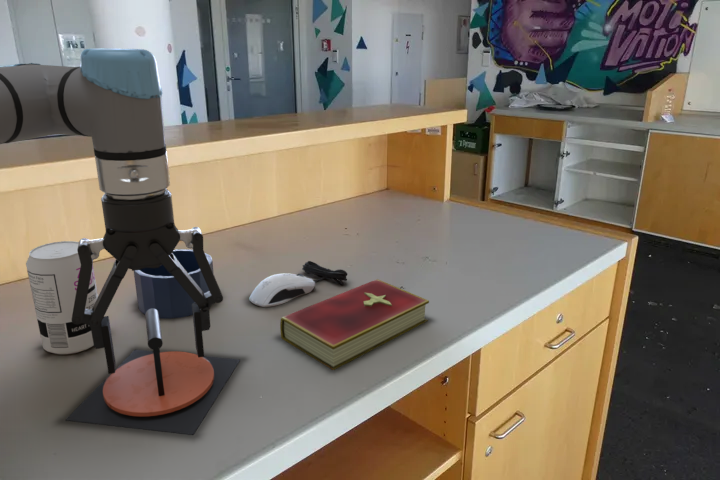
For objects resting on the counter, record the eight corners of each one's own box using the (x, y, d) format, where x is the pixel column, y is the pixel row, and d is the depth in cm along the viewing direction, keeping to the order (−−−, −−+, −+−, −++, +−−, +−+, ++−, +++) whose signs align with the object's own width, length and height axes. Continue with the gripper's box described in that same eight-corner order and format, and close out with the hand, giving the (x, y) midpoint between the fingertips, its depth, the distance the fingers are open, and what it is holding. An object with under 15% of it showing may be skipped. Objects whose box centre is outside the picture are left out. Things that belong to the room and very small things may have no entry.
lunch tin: (139, 325, 88) (134, 282, 85) (137, 293, 99) (132, 254, 96) (220, 312, 92) (216, 271, 90) (209, 283, 103) (206, 245, 101)
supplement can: (45, 335, 84) (27, 243, 79) (104, 325, 87) (90, 237, 82) (40, 362, 77) (19, 263, 72) (104, 351, 80) (89, 255, 75)
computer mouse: (237, 297, 98) (236, 277, 96) (314, 269, 110) (314, 251, 109) (272, 317, 91) (271, 295, 90) (349, 285, 104) (350, 265, 102)
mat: (65, 422, 66) (65, 419, 65) (135, 351, 80) (134, 349, 80) (193, 437, 64) (193, 434, 63) (240, 361, 78) (240, 359, 78)
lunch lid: (102, 432, 64) (90, 360, 60) (105, 369, 75) (95, 307, 72) (221, 406, 68) (216, 338, 65) (207, 351, 80) (202, 292, 77)
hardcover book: (280, 339, 84) (279, 314, 83) (375, 298, 99) (375, 276, 97) (333, 371, 77) (333, 345, 75) (427, 322, 91) (429, 299, 89)
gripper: (17, 209, 55) (55, 394, 63) (241, 191, 64) (250, 357, 71) (28, 190, 62) (61, 361, 70) (230, 176, 70) (240, 330, 78)
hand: (157, 359), depth 70 cm, fingers open, 10 cm apart
